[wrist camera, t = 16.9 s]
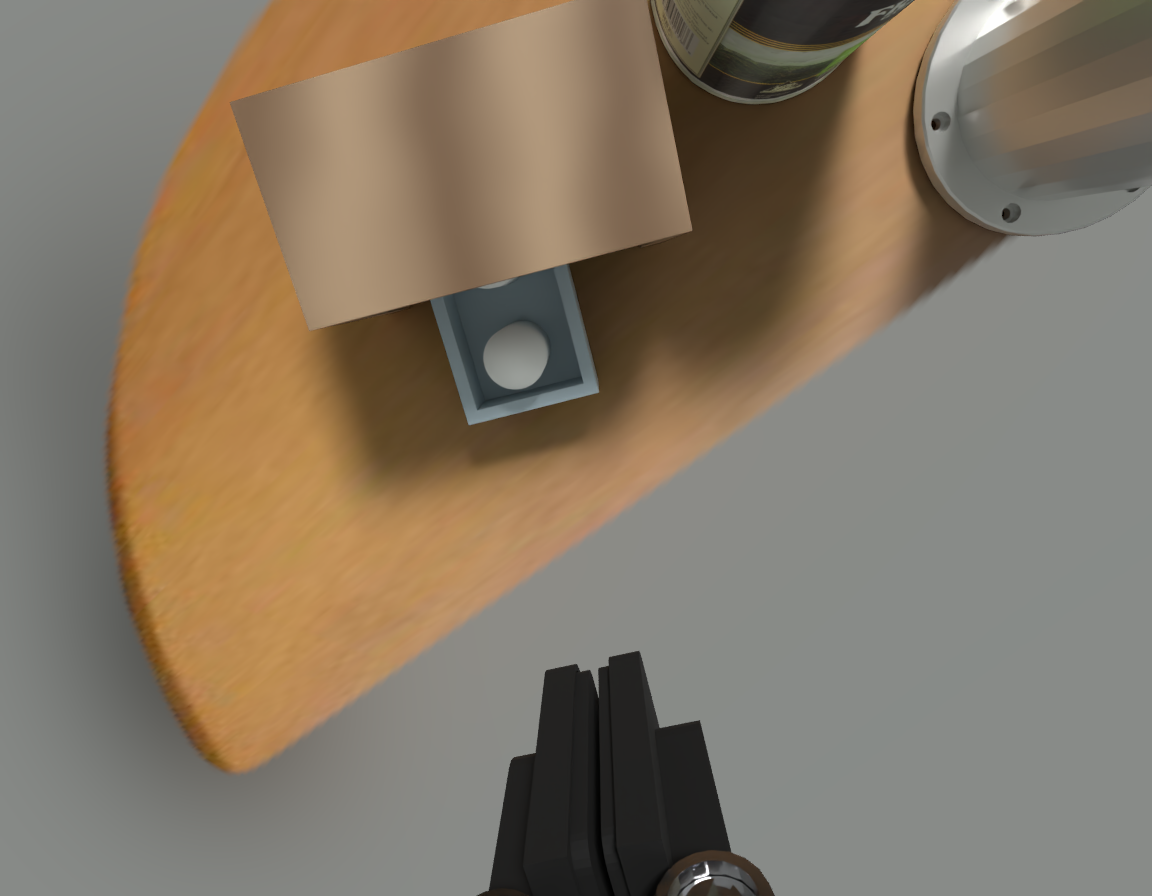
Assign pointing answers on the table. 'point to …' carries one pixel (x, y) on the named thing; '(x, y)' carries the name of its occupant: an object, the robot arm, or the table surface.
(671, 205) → the wooden footstool
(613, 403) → the table surface
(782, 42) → the coffee can
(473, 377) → the tray
